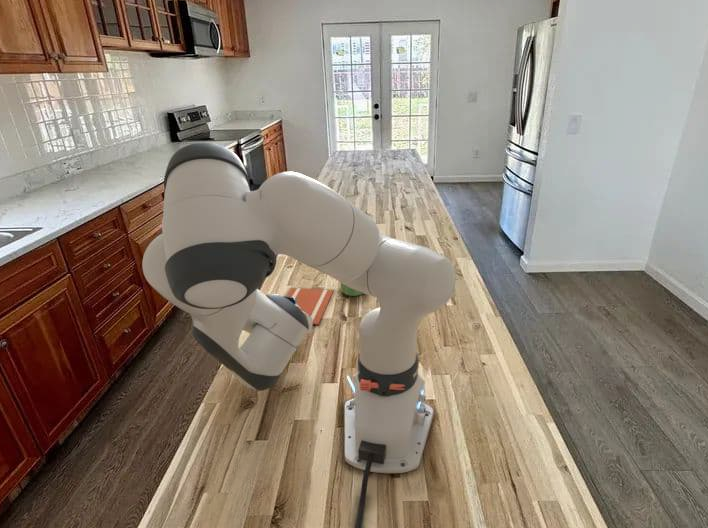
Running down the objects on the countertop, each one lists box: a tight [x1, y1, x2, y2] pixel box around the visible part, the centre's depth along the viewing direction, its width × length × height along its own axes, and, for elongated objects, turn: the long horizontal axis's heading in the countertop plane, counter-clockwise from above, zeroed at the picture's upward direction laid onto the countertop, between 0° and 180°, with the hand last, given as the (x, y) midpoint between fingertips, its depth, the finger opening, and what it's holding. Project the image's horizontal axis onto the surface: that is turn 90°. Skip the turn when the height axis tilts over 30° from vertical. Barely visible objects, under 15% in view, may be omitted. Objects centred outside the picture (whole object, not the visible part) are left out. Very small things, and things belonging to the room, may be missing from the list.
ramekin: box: [340, 283, 364, 297], centre depth 140 cm, size 9×9×4 cm
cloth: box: [286, 287, 334, 326], centre depth 132 cm, size 20×14×1 cm
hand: (279, 328), depth 112 cm, fingers closed, pressing on cup
